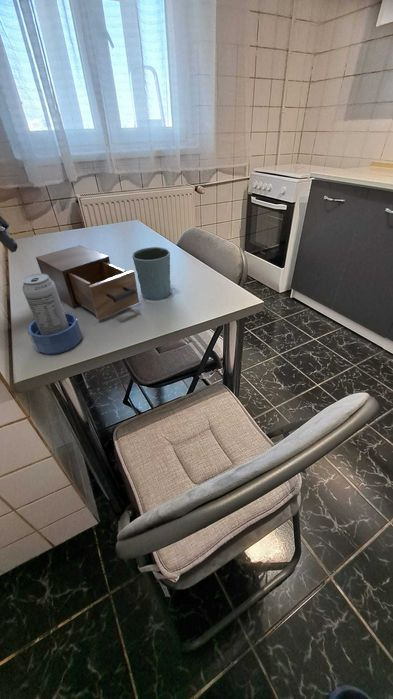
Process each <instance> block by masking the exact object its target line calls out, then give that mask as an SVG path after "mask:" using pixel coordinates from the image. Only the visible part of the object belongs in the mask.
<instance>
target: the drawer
mask: <svg viewBox="0 0 393 699" xmlns="http://www.w3.org/2000/svg"><path fill="white" fill-rule="evenodd" d="M66 274H67V277H68V281H69V284H70V287H71V291H72V294H73V297H74V300H75V302H77V303H79V304H80V305H82V306H81V307H83V308H85V309H87V310H89V311H90V312H92V313H93V314H95V318H96V319H97V320H98V321H101V320H102V319H105V318H108V317H109V316H112V315H114V314H116V313H119V312H120V311H123V310H125V309H127V308H129V307H132V306H134V305H136V304H138V303H140V298H139V293H138V286H137V281H136V274H135V270H128V271H127V270H125V269H123V268H121V267H118V266H116V265H115V264H114V265H113V264H111V263H110V264H109V263H106V262H104V261H103V262H100V263H97V264H94V265H91V266H88V267H85V268H82V269H78V270H75V271H72V272H69V273H66Z"/></svg>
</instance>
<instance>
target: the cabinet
mask: <svg viewBox="0 0 393 699" xmlns="http://www.w3.org/2000/svg"><path fill="white" fill-rule="evenodd" d="M101 253H102V252H100V253H99V251H97V250H94V249H91V248H88V247H86V246H84V245H81V244H79V245H78V244H77V245H75V246H71V247H68V248H65V249H64V248H63V249H60V250H56V251H53V252H49V253H46V254H42V255H39V256H35V259H36V260H35V261H36V262H37V265H38V268H39V270H40V274H47V275H48V276H49V278H50V279H51V280H52V281H53V282H54V284H55V286H56V289H57V292H58V295H59V298H60V301H61V302H63V303H64V304H66V305H67V306H69V307H70V308H72V309H77V308H79V307H83V306H82V305H80V304H79V303H77V302H75V300H74V297H73V294H72V291H71V287H70V284H69V281H68V277H67V274H66V273H69V272H72V271H75V270H78V269H82V268H85V267H88V266H91V265H94V264H97V263H100V262H103V261H104V262H106V263H109V264H111V261H110V256H109V255H106V254H104V253H102V254H101Z"/></svg>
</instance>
